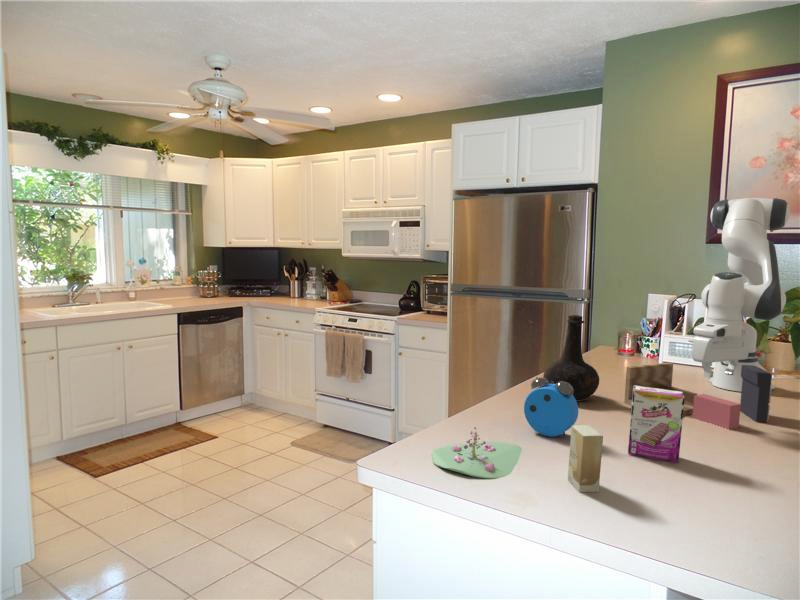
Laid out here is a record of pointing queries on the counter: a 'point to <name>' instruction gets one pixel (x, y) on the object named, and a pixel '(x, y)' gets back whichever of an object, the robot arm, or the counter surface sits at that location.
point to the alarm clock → (551, 407)
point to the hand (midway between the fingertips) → (719, 376)
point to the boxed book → (716, 411)
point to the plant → (478, 458)
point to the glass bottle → (574, 364)
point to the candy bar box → (656, 423)
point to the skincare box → (585, 458)
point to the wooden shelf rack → (655, 382)
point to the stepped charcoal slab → (755, 393)
